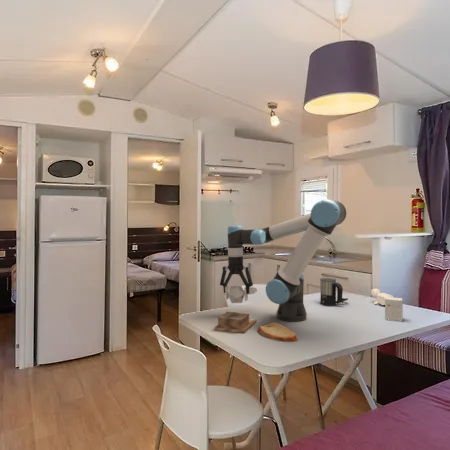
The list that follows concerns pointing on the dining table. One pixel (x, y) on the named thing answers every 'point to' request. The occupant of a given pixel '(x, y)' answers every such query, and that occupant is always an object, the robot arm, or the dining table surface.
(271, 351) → the dining table surface
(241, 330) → the wooden box on base
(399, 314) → the small box
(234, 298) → the die
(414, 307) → the dining table surface
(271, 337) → the slice of bread
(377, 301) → the cream doll figurine
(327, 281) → the milk frother
